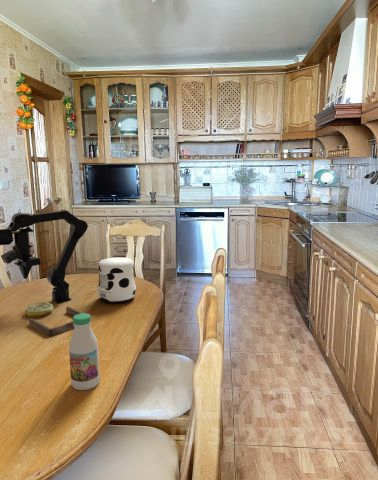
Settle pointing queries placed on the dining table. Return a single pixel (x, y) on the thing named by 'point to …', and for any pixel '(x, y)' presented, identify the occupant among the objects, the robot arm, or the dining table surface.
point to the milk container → (116, 280)
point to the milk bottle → (83, 354)
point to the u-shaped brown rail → (59, 328)
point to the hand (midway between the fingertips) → (25, 278)
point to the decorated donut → (39, 309)
